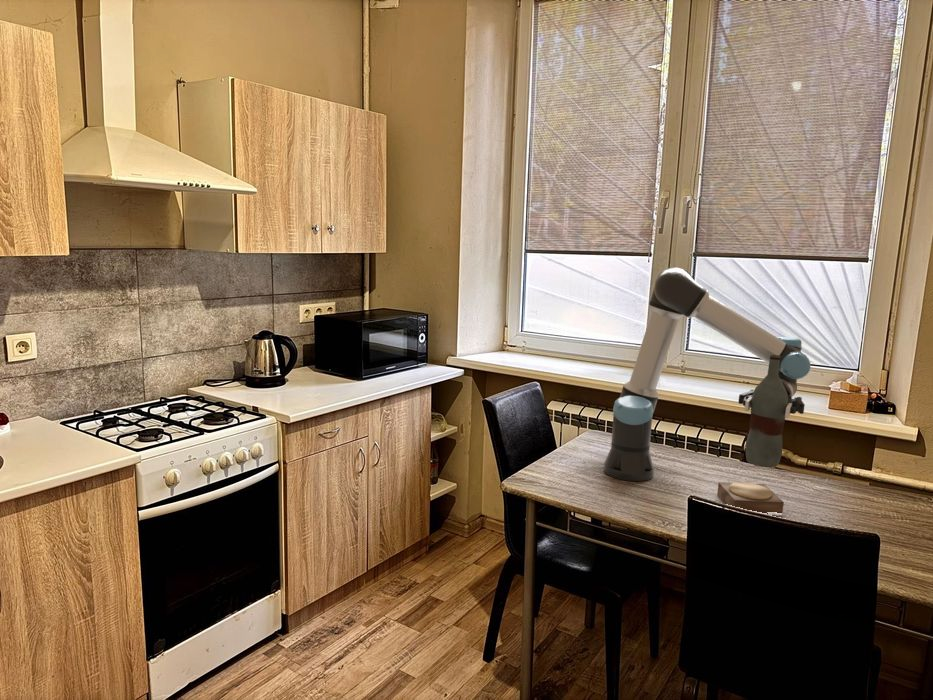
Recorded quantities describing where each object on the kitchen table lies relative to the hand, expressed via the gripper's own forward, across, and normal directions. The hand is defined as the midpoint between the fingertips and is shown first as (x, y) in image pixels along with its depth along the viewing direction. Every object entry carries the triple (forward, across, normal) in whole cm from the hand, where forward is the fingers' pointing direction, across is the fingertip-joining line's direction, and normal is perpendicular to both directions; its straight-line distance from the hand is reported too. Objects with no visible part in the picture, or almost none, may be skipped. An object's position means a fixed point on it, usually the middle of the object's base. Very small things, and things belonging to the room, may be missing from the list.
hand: (766, 409), depth 175 cm
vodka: (-4, 0, -16) cm, 17 cm away
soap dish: (-3, +2, -29) cm, 29 cm away
